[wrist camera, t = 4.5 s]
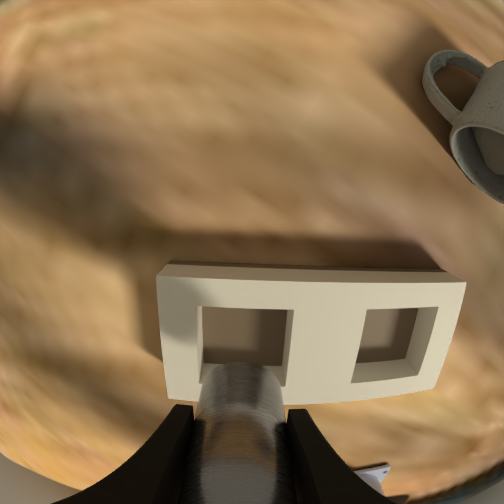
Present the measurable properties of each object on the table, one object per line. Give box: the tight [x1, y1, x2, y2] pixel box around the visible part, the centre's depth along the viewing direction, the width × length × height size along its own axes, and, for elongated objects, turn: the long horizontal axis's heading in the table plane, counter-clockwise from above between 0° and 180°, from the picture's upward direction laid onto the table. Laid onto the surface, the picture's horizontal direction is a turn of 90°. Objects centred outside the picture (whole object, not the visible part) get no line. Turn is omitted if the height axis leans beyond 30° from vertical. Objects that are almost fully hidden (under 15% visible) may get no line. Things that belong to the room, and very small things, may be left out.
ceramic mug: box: [422, 49, 504, 204], centre depth 12 cm, size 11×8×8 cm
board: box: [156, 261, 467, 405], centre depth 17 cm, size 8×18×3 cm, turn 88°
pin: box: [177, 361, 297, 504], centre depth 8 cm, size 4×4×8 cm
